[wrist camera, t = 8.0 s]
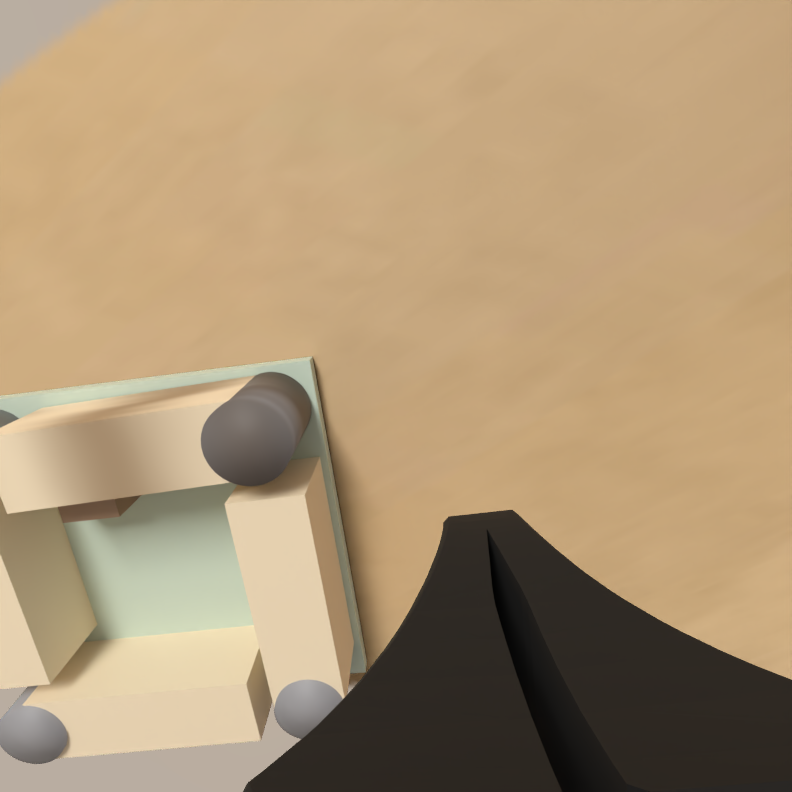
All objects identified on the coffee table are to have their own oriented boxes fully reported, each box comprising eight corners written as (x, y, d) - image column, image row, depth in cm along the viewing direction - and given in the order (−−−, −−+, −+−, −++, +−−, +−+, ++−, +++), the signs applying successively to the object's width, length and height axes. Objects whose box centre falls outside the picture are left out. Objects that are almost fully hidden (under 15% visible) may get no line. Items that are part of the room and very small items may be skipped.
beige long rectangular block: (303, 366, 18) (280, 394, 15) (318, 438, 19) (299, 479, 16) (41, 406, 19) (-34, 442, 16) (65, 474, 20) (-2, 521, 16)
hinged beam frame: (366, 661, 23) (358, 743, 19) (66, 689, 23) (3, 773, 20) (312, 356, 19) (290, 385, 15) (-42, 401, 20) (-143, 438, 16)
